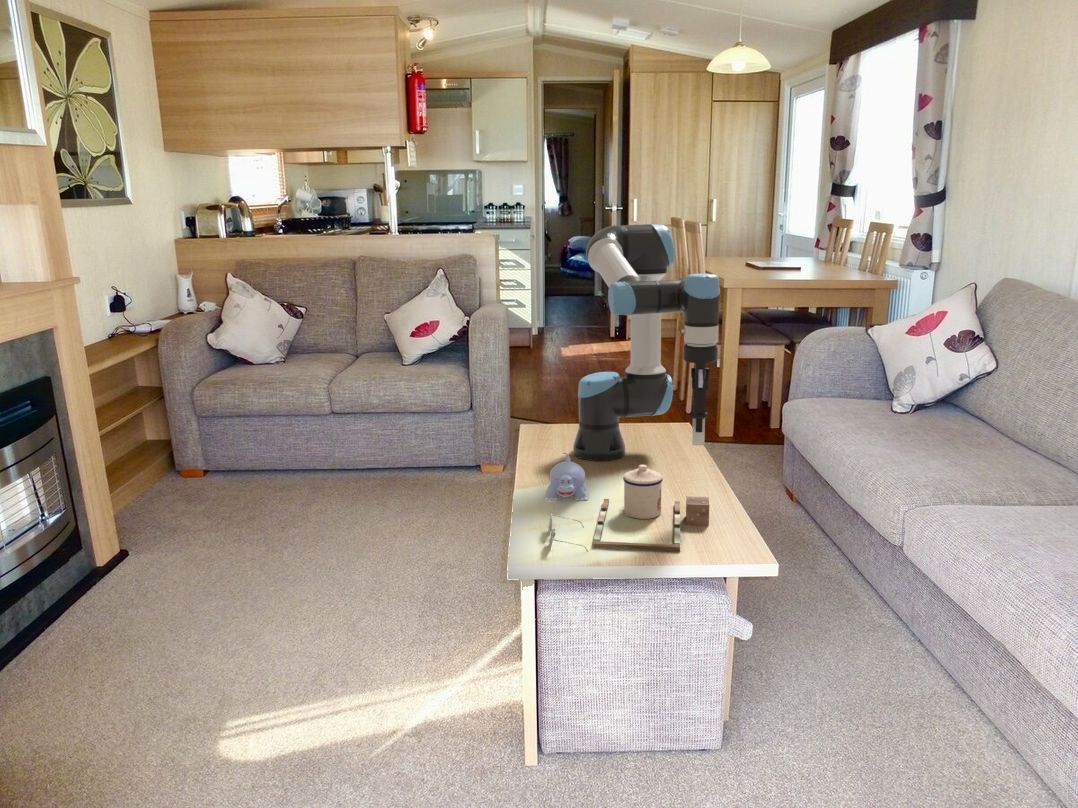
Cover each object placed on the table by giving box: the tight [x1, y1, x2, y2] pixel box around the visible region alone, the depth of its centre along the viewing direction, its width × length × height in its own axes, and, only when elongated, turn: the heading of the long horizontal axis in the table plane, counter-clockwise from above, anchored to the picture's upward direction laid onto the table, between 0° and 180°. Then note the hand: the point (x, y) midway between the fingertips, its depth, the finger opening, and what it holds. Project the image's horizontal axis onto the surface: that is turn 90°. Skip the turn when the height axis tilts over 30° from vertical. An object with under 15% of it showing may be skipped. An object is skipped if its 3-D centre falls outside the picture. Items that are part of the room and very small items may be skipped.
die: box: [685, 495, 710, 527], centre depth 181 cm, size 5×5×5 cm
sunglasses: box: [547, 512, 589, 553], centre depth 173 cm, size 14×8×5 cm, turn 1°
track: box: [592, 498, 681, 553], centre depth 180 cm, size 26×18×2 cm
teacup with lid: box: [622, 464, 663, 520], centre depth 187 cm, size 12×9×12 cm
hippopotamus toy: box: [544, 452, 589, 502], centre depth 196 cm, size 11×15×10 cm
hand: (698, 444), depth 184 cm, fingers closed
